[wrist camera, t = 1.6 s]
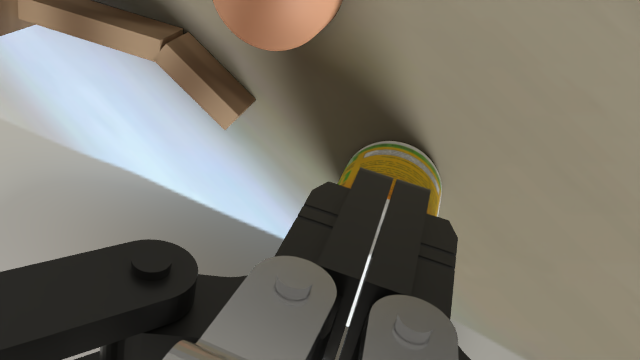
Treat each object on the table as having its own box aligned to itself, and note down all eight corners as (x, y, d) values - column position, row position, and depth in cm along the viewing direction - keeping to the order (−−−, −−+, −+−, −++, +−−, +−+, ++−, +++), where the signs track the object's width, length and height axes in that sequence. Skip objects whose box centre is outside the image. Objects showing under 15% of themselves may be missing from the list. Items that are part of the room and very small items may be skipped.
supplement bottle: (347, 131, 31) (294, 224, 23) (449, 146, 30) (432, 249, 22) (341, 217, 34) (291, 328, 26) (435, 233, 33) (414, 355, 25)
